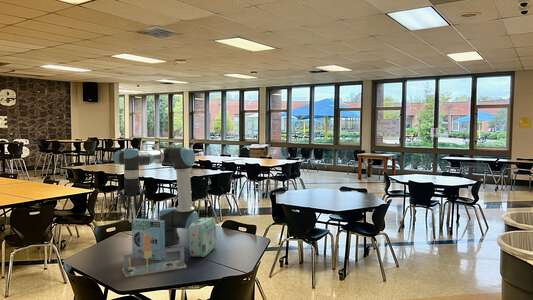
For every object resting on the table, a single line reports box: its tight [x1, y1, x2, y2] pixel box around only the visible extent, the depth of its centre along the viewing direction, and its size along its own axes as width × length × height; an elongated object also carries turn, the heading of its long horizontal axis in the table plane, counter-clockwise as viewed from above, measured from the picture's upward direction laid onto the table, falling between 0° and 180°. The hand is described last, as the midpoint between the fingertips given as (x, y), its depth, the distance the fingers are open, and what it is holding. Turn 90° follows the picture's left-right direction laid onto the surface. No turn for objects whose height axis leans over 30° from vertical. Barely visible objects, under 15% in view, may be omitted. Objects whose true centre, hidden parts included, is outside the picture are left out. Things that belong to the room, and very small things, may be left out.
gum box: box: [131, 217, 166, 261], centre depth 237 cm, size 20×5×23 cm, turn 72°
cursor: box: [142, 234, 152, 268], centre depth 216 cm, size 4×4×18 cm
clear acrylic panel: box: [122, 246, 185, 272], centre depth 218 cm, size 2×32×9 cm, turn 118°
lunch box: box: [187, 217, 217, 258], centre depth 248 cm, size 27×10×21 cm, turn 168°
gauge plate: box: [121, 259, 188, 278], centre depth 218 cm, size 11×32×2 cm, turn 118°
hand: (132, 221), depth 215 cm, fingers closed
